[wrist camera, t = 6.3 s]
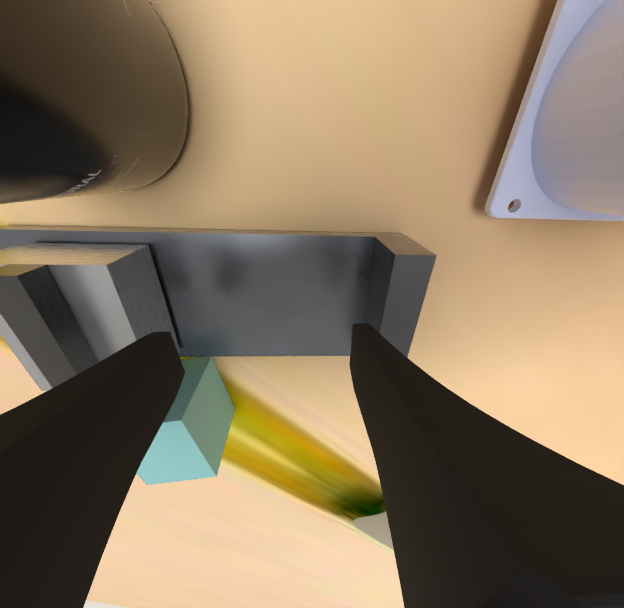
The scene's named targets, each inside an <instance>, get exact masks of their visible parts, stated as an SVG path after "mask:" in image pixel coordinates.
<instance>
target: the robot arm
mask: <svg viewBox="0 0 624 608" xmlns="http://www.w3.org/2000/svg"><path fill="white" fill-rule="evenodd" d="M512 201H514V204H513V206H512V208H511V209H509V210H508V205H509V204H510V202H512ZM485 211H486V214H487V215H488V216H491V217H495V218H518V219H559V220H600V221H624V0H557V3H556V6H555V9H554V11H553V14H552V17H551V20H550V23H549V26H548V29H547V31H546V34H545V37H544V40H543V43H542V46H541V48H540V51H539V54H538V57H537V60H536V63H535V66H534V68H533V71H532V74H531V77H530V80H529V83H528V85H527V88H526V91H525V94H524V97H523V100H522V103H521V105H520V108H519V111H518V114H517V117H516V120H515V122H514V125H513V128H512V131H511V134H510V137H509V140H508V142H507V145H506V148H505V151H504V154H503V157H502V159H501V162H500V165H499V168H498V171H497V174H496V177H495V179H494V182H493V185H492V188H491V191H490V194H489V196H488V199H487V202H486V206H485ZM350 370H351V376H352V381H353V386H354V391H355V394H356V397H357V401H358V404H359V407H360V411H361V414H362V417H363V420H364V423H365V427H366V430H367V433H368V436H369V440H370V443H371V446H372V450H373V453H374V457H375V461H376V465H377V469H378V474H379V479H380V483H381V488H382V493H383V497H384V502H385V507H386V512H387V517H388V522H389V527H390V532H391V537H392V542H393V547H394V553H395V558H396V563H397V568H398V574H399V579H400V584H401V590H402V596H403V601H404V607H405V608H624V485H622V484H620V483H618V482H615V481H613V480H611V479H609V478H607V477H605V476H603V475H601V474H598V473H596V472H594V471H592V470H590V469H588V468H586V467H584V466H582V465H580V464H578V463H576V462H574V461H572V460H570V459H568V458H566V457H564V456H562V455H560V454H558V453H556V452H554V451H553V450H551V449H549V448H547V447H545V446H543V445H541V444H539V443H537V442H535V441H533V440H532V439H530V438H528V437H526V436H524V435H522V434H521V433H519V432H517V431H515V430H513V429H512V428H510V427H508V426H506V425H505V424H503V423H501V422H500V421H498V420H496V419H495V418H493V417H491V416H489V415H488V414H486V413H484V412H483V411H481V410H479V409H478V408H476V407H475V406H473V405H471V404H470V403H468V402H467V401H465V400H464V399H462V398H461V397H459V396H458V395H456V394H455V393H453V392H452V391H450V390H449V389H447V388H446V387H444V386H443V385H442V384H440V383H439V382H437V381H436V380H435V379H433V378H432V377H431V376H429V375H428V374H427V373H426V372H424V371H423V370H422V369H420V368H419V367H418V366H416V365H415V364H414V363H413V362H412V361H410V360H409V359H408V358H407V357H406V356H404V355H403V354H402V353H401V352H400V351H399V350H397V349H396V348H395V347H394V346H393V345H392V344H391V343H390V342H389V341H388V340H386V339H385V338H384V337H383V336H382V335H381V334H380V333H379V332H378V331H377V330H376V329H375V328H374V327H372V326H371V325H370V324H369V323H363V324H353V327H352V341H351V354H350ZM184 375H185V370H184V368H183V365H182V362H181V360H180V357H179V354H178V352H177V349H176V346H175V344H174V341H173V338H172V335H171V333H170V331H165V332H152V333H150V334H148V335H146V336H144V337H142V338H140V339H138V340H136V341H135V342H133V343H131V344H129V345H128V346H126V347H124V348H122V349H121V350H119V351H117V352H116V353H114V354H112V355H110V356H109V357H107V358H105V359H104V360H102V361H100V362H98V363H97V364H95V365H93V366H92V367H90V368H88V369H86V370H85V371H83V372H81V373H79V374H77V375H76V376H74V377H72V378H70V379H68V380H66V381H65V382H63V383H61V384H59V385H57V386H56V387H54V388H52V389H50V390H48V391H47V392H45V393H43V394H41V395H39V396H37V397H35V398H33V399H31V400H29V401H27V402H25V403H24V404H22V405H20V406H18V407H16V408H14V409H12V410H9V411H7V412H5V413H3V414H1V415H0V608H83V607H84V604H85V601H86V598H87V596H88V593H89V590H90V587H91V585H92V582H93V579H94V576H95V574H96V571H97V568H98V565H99V563H100V560H101V557H102V554H103V552H104V549H105V547H106V544H107V542H108V539H109V537H110V534H111V532H112V529H113V527H114V524H115V522H116V519H117V517H118V514H119V512H120V509H121V507H122V505H123V502H124V500H125V498H126V495H127V493H128V491H129V488H130V486H131V484H132V481H133V479H134V477H135V475H136V473H137V471H138V469H139V467H140V465H141V462H142V461H143V459H144V457H145V455H146V453H147V451H148V449H149V448H150V446H151V444H152V442H153V440H154V438H155V436H156V435H157V433H158V431H159V429H160V427H161V425H162V423H163V422H164V420H165V418H166V416H167V414H168V412H169V410H170V408H171V406H172V405H173V403H174V401H175V399H176V396H177V394H178V391H179V389H180V386H181V383H182V380H183V378H184Z"/></svg>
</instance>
